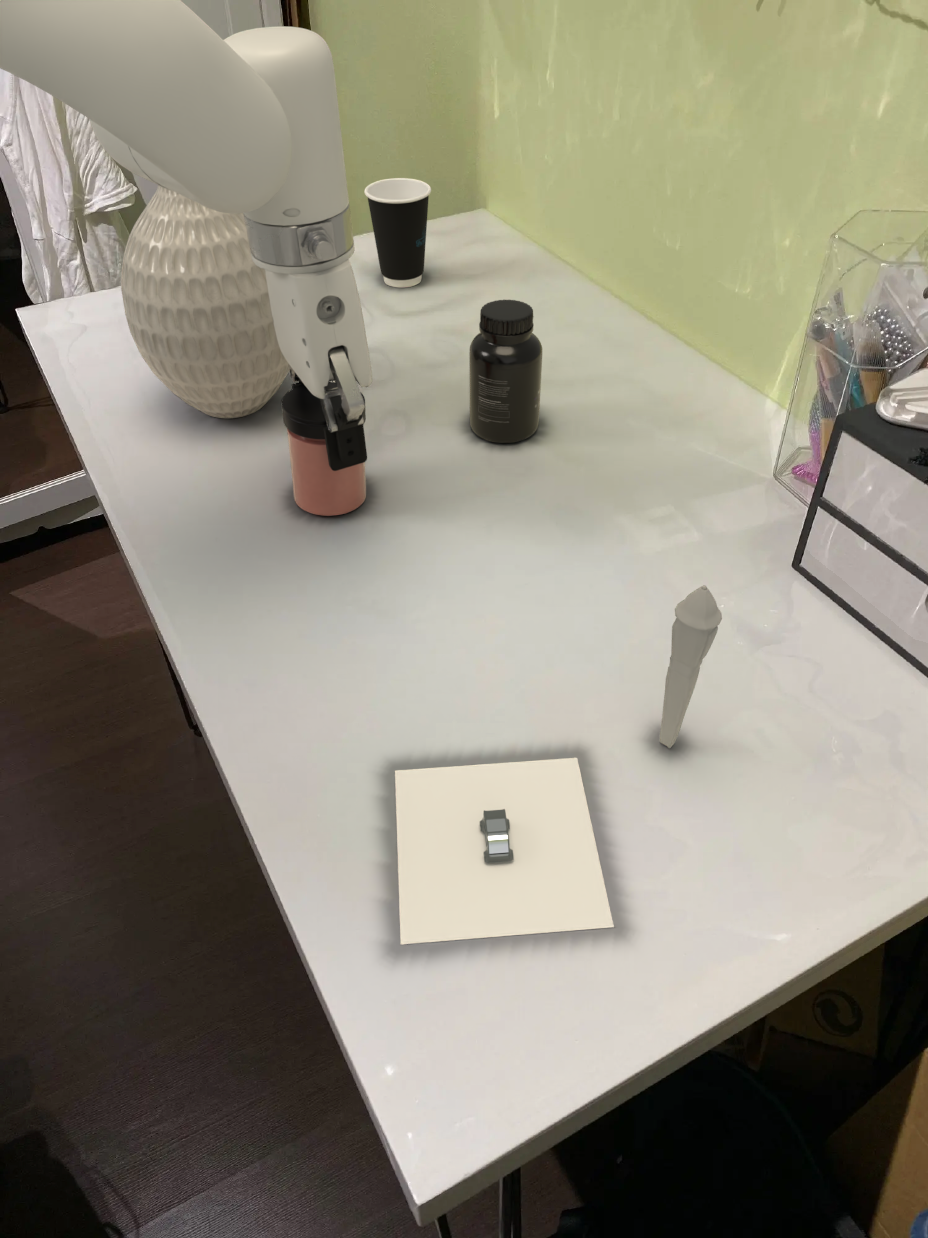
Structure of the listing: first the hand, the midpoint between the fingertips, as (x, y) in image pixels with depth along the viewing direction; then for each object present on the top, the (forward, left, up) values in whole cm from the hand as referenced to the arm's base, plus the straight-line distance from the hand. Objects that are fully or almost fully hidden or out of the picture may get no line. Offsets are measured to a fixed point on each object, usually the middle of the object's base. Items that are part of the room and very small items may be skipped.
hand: (332, 440), depth 78 cm
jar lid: (0, 0, +4) cm, 4 cm away
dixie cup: (+13, +45, -6) cm, 47 cm away
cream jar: (-1, 0, -5) cm, 5 cm away
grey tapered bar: (+18, -33, -6) cm, 38 cm away
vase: (-9, +19, -6) cm, 21 cm away
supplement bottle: (+17, +8, -6) cm, 20 cm away
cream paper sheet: (+5, -38, -6) cm, 39 cm away
